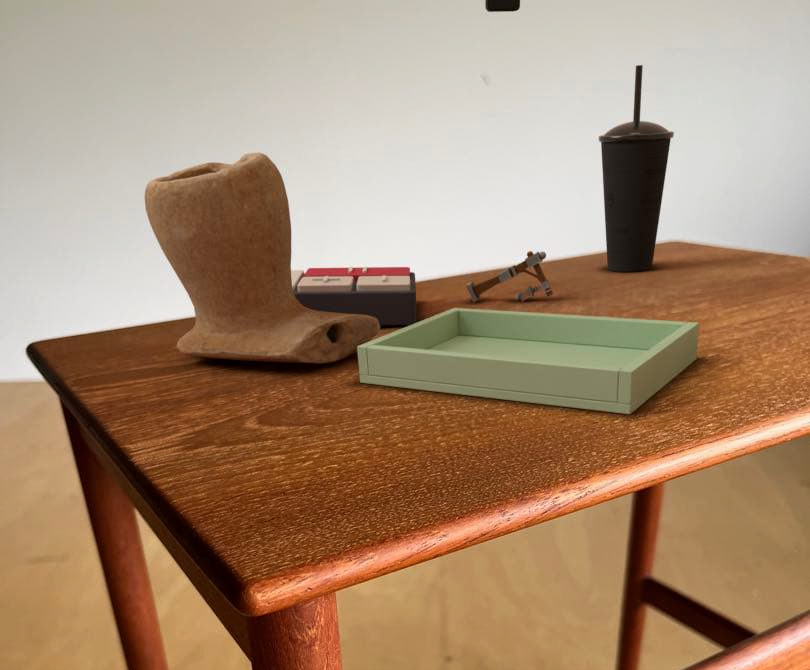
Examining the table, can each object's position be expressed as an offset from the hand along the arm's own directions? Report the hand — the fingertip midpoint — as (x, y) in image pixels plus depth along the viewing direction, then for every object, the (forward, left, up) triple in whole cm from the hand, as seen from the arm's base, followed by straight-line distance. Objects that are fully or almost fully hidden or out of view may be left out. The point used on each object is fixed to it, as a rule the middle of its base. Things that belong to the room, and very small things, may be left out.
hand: (529, 4), depth 75 cm
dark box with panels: (+14, +13, -25) cm, 31 cm away
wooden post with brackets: (+2, +1, -25) cm, 25 cm away
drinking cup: (-3, -19, -25) cm, 32 cm away
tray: (-11, +24, -25) cm, 36 cm away
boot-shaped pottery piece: (+10, +28, -25) cm, 38 cm away
